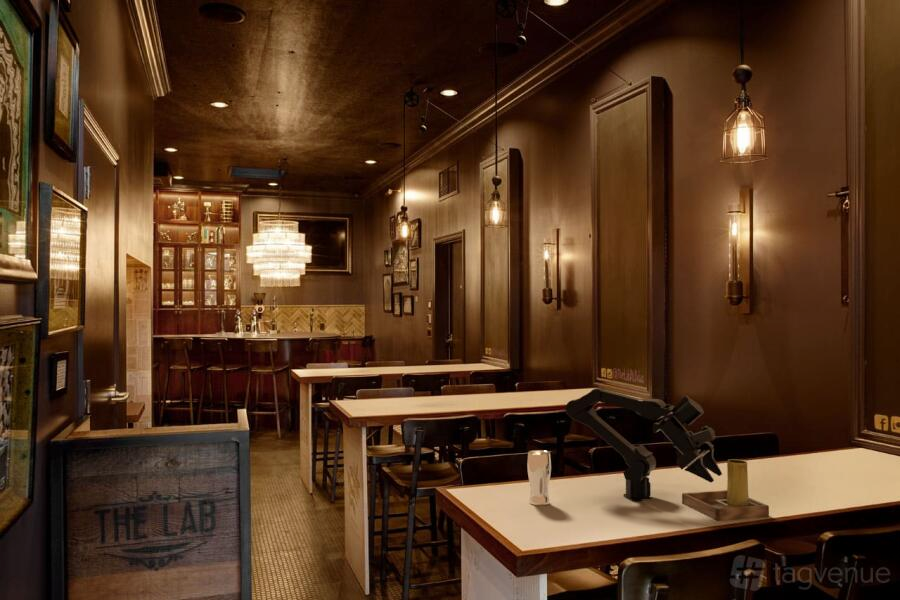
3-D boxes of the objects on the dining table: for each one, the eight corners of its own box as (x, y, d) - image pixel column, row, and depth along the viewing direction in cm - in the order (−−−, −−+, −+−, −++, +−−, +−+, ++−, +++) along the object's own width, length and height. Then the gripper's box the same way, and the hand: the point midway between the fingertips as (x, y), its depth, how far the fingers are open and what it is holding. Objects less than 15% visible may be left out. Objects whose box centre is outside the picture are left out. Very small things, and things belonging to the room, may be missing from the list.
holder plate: (734, 518, 184) (734, 509, 184) (714, 508, 193) (714, 500, 193) (763, 515, 186) (763, 506, 186) (742, 506, 195) (742, 498, 195)
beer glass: (532, 507, 197) (532, 455, 197) (524, 500, 203) (523, 450, 204) (554, 505, 199) (554, 454, 199) (545, 498, 205) (545, 449, 206)
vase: (732, 507, 194) (731, 457, 194) (753, 512, 189) (752, 461, 189) (722, 512, 190) (721, 461, 190) (744, 516, 185) (743, 464, 185)
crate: (717, 522, 182) (717, 509, 182) (682, 505, 198) (682, 493, 198) (768, 518, 185) (768, 505, 185) (730, 501, 202) (730, 489, 202)
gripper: (688, 422, 188) (730, 467, 182) (706, 413, 204) (745, 455, 197) (660, 446, 193) (700, 491, 186) (680, 436, 208) (717, 478, 202)
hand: (716, 478), depth 193 cm, fingers open, 9 cm apart
